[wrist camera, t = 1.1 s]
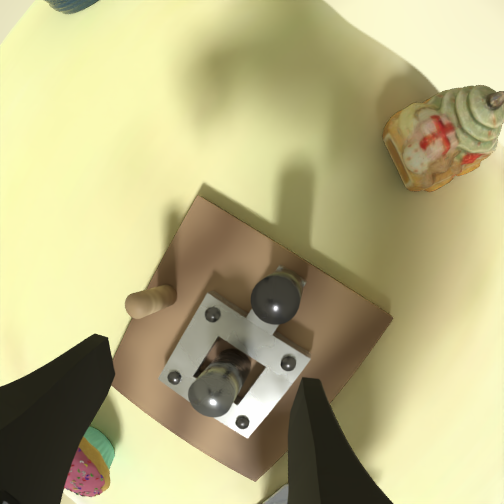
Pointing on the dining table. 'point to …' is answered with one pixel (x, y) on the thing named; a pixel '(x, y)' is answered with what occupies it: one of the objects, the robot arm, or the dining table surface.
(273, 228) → the dining table surface
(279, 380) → the flange
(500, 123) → the topped waffle
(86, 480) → the cupcake
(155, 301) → the dowel
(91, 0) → the canister
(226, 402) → the post
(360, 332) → the board
